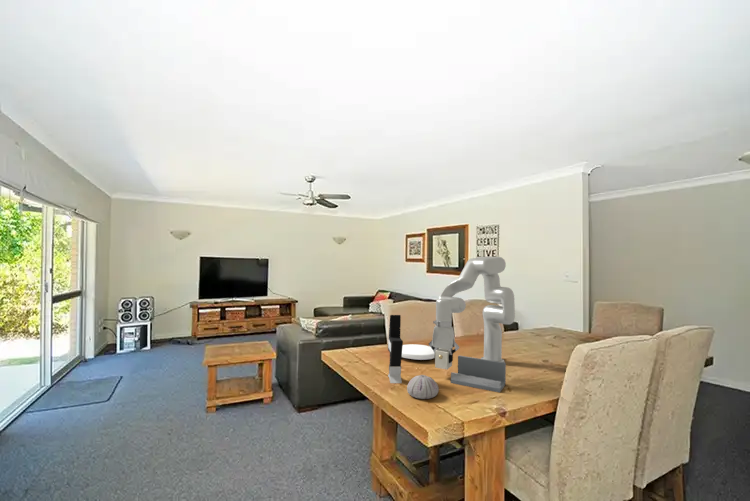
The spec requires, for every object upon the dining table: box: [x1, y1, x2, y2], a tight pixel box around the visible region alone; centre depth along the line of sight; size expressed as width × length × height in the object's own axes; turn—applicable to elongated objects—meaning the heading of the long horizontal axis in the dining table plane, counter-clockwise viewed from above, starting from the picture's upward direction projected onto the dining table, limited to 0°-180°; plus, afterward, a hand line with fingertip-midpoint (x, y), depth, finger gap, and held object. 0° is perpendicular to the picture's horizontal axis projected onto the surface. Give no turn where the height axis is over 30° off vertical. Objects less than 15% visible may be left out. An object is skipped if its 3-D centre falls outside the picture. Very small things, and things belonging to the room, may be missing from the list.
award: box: [387, 314, 404, 384], centre depth 173 cm, size 15×5×30 cm, turn 5°
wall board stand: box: [450, 354, 507, 394], centre depth 168 cm, size 12×22×10 cm, turn 59°
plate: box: [402, 343, 435, 361], centre depth 213 cm, size 28×6×27 cm
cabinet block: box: [434, 348, 453, 370], centre depth 177 cm, size 8×6×8 cm
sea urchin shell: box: [406, 374, 440, 400], centre depth 153 cm, size 13×14×8 cm
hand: (443, 360), depth 177 cm, fingers closed on cabinet block, 6 cm apart
